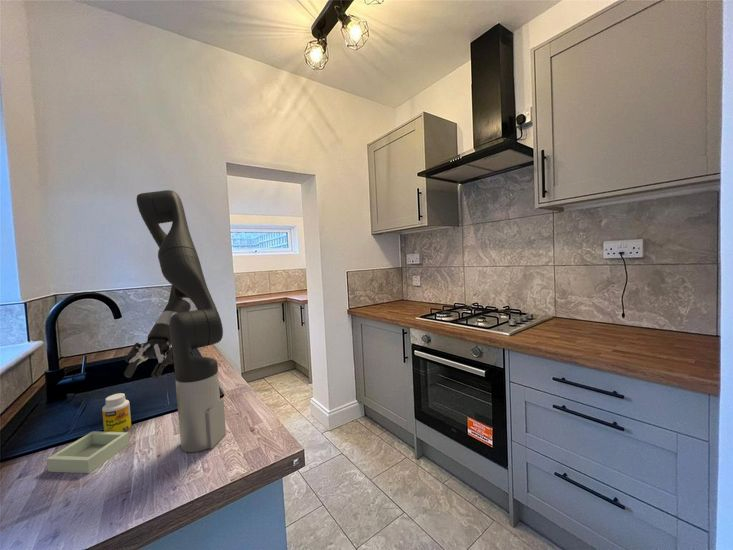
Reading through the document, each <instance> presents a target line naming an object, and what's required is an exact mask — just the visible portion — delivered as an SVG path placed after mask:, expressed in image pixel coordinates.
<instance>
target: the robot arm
mask: <svg viewBox="0 0 733 550" xmlns="http://www.w3.org/2000/svg"><path fill="white" fill-rule="evenodd" d="M136 206H137V208H138V212H139V213H140V216H141V218H142V220H143V222H144V224H145V226H146V227H147V229H148V231H149V233H150V235H151V236H152V238H153V240H154V241H155V243H156V245H157V247H158V252H157V258H158V262H159V266H160V270H161V274H162V275H163V277H164V278H165V280H166V281H167V282H168V283H169V284H170V285H171V288H170V292H169V293H170V294H169V297H168V300H167V301H168V302H167V303H166V306H165V307H164V309H163V311H162V312H161V314H160V315H159V317H157V319H156V321H155V323H154V324H153V326H152V328H151V329H150V331H149V333H148V335H147V341H146V342H145V343H139V342H135V343H134V345H133V346H132V347H131V349H130V351H129V352H128V354H127V355H126V357H125V358H124V361H126V362H127V363H128V365H127V366H126V368H125V370H124V373H123V376H124V377H126V378H127V379H130V378H132V376H133V375H134V374H135V372H136V369H137V368H138V365H139V364H141V363H143V362H146V361H147V360H148V359H149V360H150V359H151V360H152V359H156V360H157V361H158V363H156V365H155V366H154V369H153V370H152V372H151V374H150V376H151V377H152V378H154V379H158V378H159V377H160V376H161V375H162V373H163V372H164V371H163V370H165V367H166V366H167V365H173V368H174V377H175V378H174V379H175V391H176V393H175V394H176V402H177V403H176V404H177V416H178V417H177V418H178V428H179V439H180V440H179V441H180V449H181V450H182V451H183V452H186V453H196V452H201V451H206V450H210V449H214V447H215V446H216V445H217V444H219V442H220V441H221V440H222V439H223V437H224V436H225V435H226V434H227V430H226V416H225V415H226V412H225V400H224V399H223V398H220V397H221V396H220V395H221V394H220V379H219V365H218V364H219V363H218V361H217V360H216V359H215V358H213V357H207V356H196V355H193V354H191V351H192V350H194V349H200V348H205V347H208V346H212V345H215V344H218V343H220V342H221V341H222V339H223V336H224V335H223V334H224V329H223V328H224V327H223V323H222V320H221V317H220V314H219V311H218V309H217V307H216V304H215V302H214V300H213V297H212V295H211V293H210V290H209V288H208V285H207V282H206V279H205V276H204V272H203V269H202V266H201V265H202V264H201V262H200V258H199V255H198V252H197V249H196V247H195V244H194V242H193V238H192V236H191V233H190V229H189V226H188V220H187V217H186V213H185V208H184V205H183V202H182V199H181V197H180V196H179V194H178V192H176V191H175V190H171V189H169V190H168V189H167V190H158V191H151V192H142V193H138V194H137V196H136ZM171 222H172V223H171ZM166 223H171V227H170V230H169V231H168V233H166V232H165V231H164V230H163V229H162V228H161V226H160V224H166ZM185 299H190V301H191V302H192V303H193V304H194V306H195V307H196V310H195V309H194V310H191V307H192V305H191V303H190V302H189V301H187V300H185Z"/></svg>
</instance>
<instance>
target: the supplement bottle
mask: <svg viewBox="0 0 733 550" xmlns="http://www.w3.org/2000/svg"><path fill="white" fill-rule="evenodd" d="M130 403H131V402H130V401H129V400H128V399H126V395H125V393H121V392H120V393H114V394H112V395H108V396H107V397H106V398H105V405H103V407H102V410H101V412H102V423H103V432H130V431H131V430H132V417H131V405H130Z"/></svg>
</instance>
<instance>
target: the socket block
mask: <svg viewBox="0 0 733 550" xmlns="http://www.w3.org/2000/svg"><path fill="white" fill-rule="evenodd" d="M129 432H130V431H129ZM129 432H104V431H96V430H95V431H90V432H88V433H87V434H86V435H84V436H82V437H81V438H78V439H77V440H75V441H74V442H72V443H71V444H69V445H67V446H65V447H64V448H62V449H60V450H59V451H57V452H56V453H54V454H52V455H50V456H48V457H47V458H46V464H47V472H50V473H73V474H90V473H92V472H93V471H94V470H96V469H97V468H98V467H100V466H102V465H103V464H104V463H106V462H107V461H108V460H109V459H112V457H114V456H115V455H117V454H118V453H120V452H121V451H122V450H123V449H125V448H126V447H127V446H129V445H130V434H129Z"/></svg>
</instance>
